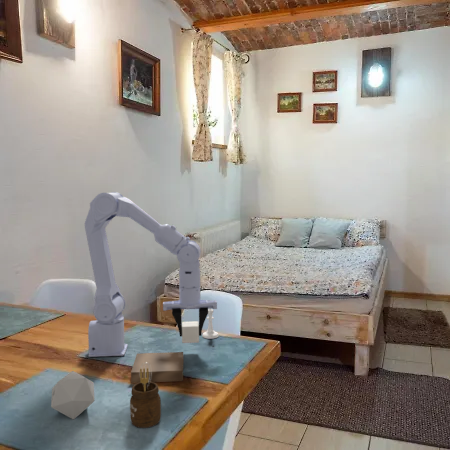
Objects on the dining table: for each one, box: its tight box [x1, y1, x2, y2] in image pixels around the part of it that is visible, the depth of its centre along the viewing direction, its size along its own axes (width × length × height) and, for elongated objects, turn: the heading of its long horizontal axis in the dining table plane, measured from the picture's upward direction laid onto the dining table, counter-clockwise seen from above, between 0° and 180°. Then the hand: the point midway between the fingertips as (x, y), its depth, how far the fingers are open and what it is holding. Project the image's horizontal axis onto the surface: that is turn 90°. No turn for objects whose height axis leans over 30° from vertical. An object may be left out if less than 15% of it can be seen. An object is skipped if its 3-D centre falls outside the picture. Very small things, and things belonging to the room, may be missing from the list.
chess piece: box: [201, 309, 220, 340], centre depth 139 cm, size 5×5×10 cm
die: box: [50, 370, 96, 421], centre depth 94 cm, size 8×9×10 cm
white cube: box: [181, 320, 200, 344], centre depth 126 cm, size 4×4×4 cm
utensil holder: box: [129, 363, 162, 429], centre depth 90 cm, size 6×6×12 cm
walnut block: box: [130, 351, 185, 384], centre depth 114 cm, size 12×12×3 cm
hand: (190, 334), depth 126 cm, fingers closed on white cube, 4 cm apart
